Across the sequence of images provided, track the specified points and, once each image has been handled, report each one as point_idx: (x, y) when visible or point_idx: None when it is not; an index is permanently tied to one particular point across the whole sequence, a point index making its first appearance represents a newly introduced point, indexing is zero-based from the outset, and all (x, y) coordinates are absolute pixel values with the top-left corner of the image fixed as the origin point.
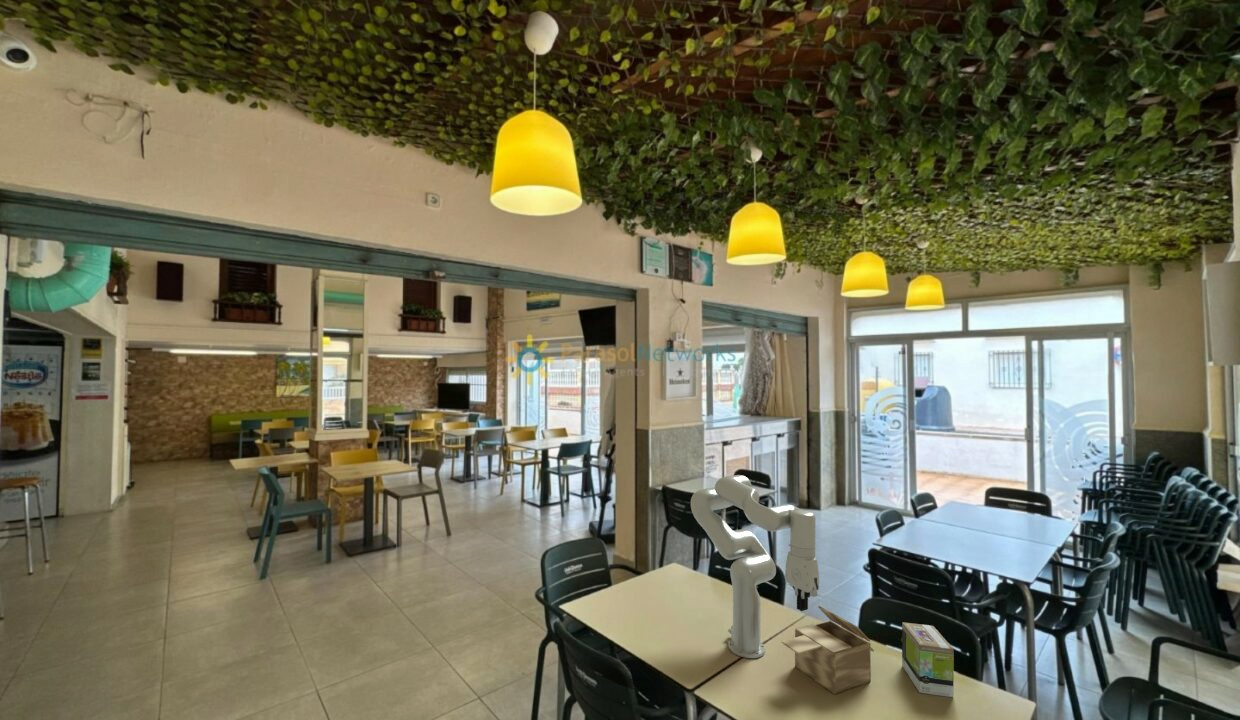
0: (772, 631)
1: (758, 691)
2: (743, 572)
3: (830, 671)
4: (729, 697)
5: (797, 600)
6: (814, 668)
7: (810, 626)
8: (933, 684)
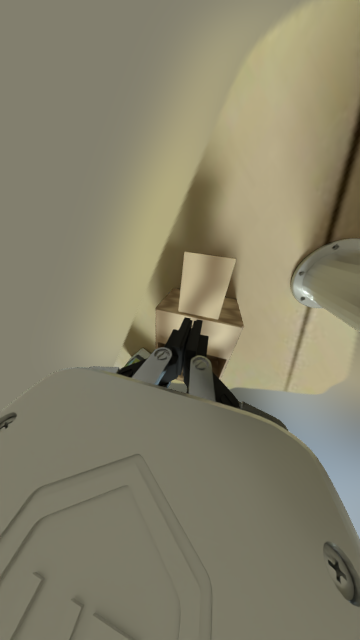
0: (307, 347)
1: (243, 184)
2: None
3: (171, 297)
4: (281, 77)
5: (194, 339)
6: None
7: (227, 350)
8: (133, 357)
